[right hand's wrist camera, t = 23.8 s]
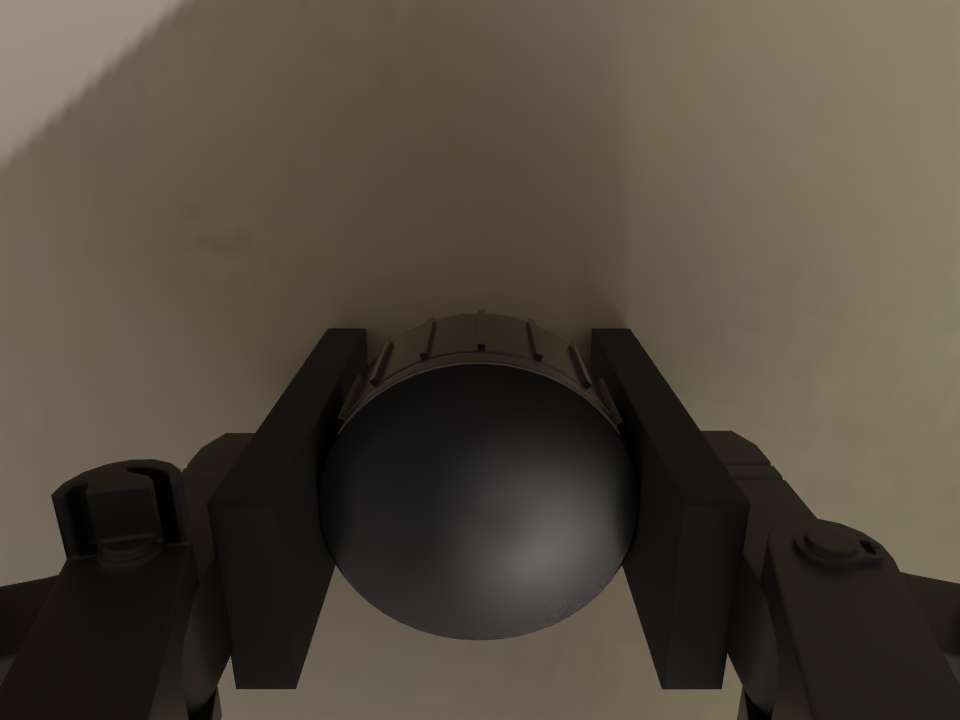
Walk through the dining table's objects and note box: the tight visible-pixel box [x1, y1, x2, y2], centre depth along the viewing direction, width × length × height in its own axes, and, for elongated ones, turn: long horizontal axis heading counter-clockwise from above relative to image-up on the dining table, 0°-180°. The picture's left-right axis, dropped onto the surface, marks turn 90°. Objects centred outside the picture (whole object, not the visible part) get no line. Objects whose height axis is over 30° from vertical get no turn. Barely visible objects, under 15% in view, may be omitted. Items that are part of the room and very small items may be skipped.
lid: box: [318, 310, 640, 640], centre depth 11 cm, size 5×5×2 cm
